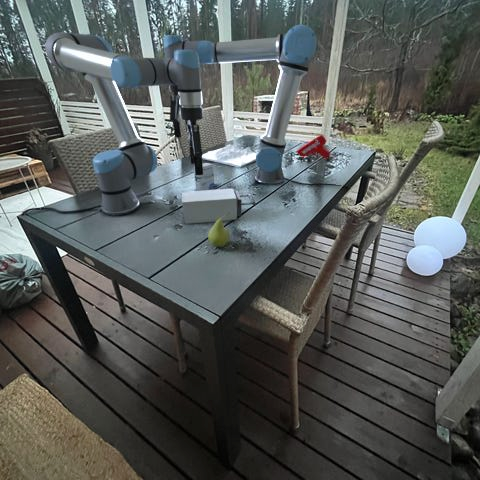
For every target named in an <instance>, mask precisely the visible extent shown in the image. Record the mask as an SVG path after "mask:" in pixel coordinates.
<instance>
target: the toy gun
mask: <svg viewBox="0 0 480 480" xmlns="http://www.w3.org/2000/svg"><path fill="white" fill-rule="evenodd" d="M326 143H327V139H326V137H325V136H324V135H323V133H321V134H319V135H318V136H316V137H314V138H313V139H311V140H310V141H308V142H307V143H306V144H304V145H302V146H301V147H299V148H298V149H297V150H296V153H297V154H298V156H299V157H300V156H305V157H307V156H308V155H310V154H311V155H312V156H316V155H318V154H319V155H320V156H321V157H323V160H324V161H325V160H326V159H327V157H328V159H329V158H330V156H331V151H330V150H328V149H327V148H326V147H324V146H325V145H326ZM305 157H300V159H304V158H305ZM324 158H326V159H324Z"/></svg>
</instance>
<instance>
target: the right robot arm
mask: <svg viewBox="0 0 480 480" xmlns="http://www.w3.org/2000/svg"><path fill="white" fill-rule="evenodd" d="M316 49H317V36H316V33H315V31H314V30H313V28H311V26H309V25H306V24H296V25H294V26H292V27H291V28H289V30H287V32H286V33H279V34H278V35H277V36H276V37H268V38H267V37H266V38H255V39H241V40H229V41H219V42H215V41H213V42H212V41H210V40H203V39H202V40H191V41H190V40H189V41H185V40H183V36H182V35H180V34H166V35H164V36H163V51H164V56H165V57H164V58H174V51H175V50H195V51H197V52H198V55H199V63H200V65H215V64H216V65H217V64H229V63H243V62H245V63H246V62H258V61H274V60H276V62H277V63H278V69H279V70H280V73H279V77H278V82H277V86H276V90H275V94H274V98H273V102H272V106H271V110H270V114H269V118H268V122H267V126H266V129H265V133H264V134H262V135H260V137H259V143H258V149H257V152H256V153H257V154H256V161H255V163H256V166H257V170H256V173H255V177H254V181H255V183H258V184H259V185H262V186H263V185H264V186H279V185H281V184H283V183H284V181H288V182H291V183H294V184H298V185H302V186H332V187H333V186H334V187H342V186H341V185H336V184H337V183H326V182H325V183H324V182H323V183H322V182H318V183H316V182H315V183H304V182H299V181H295V180H292V179H290V178H286V177H285V175H284V172H283V171H284V170H283V167H282V165H283V157H284V155H285V154H284V153H285V150H286V147H287V141H286V139H285V137H286V134H287V130H288V127H289V124H290V121H291V118H292V117H291V116H292V113H293V110H294V107H295V103H296V99H297V96H298V93H299V89H300V85H301V82H302V78H303V76H305V75H307V74H308V72H309V68H310V65H311V62H312V58H313V56H314V54H315V52H316ZM168 88H169V91H170V92H171V93H173V94H171V95H169V96H170V97H169V98H170V99H169V100H170V109H169V121H170V122H172V125H173V132H174V133H173V134H174V138H179V139H181V138H182V132H181V124H180V121H179V119H180V114H181V113H180V108H181V107H182V106H181V105H180V103H179V99H178V98H177V95H179V94H178V87H177V85H168ZM184 122H185V123H184V124H185V132H188V130H187V120H184ZM343 185H344V186H343V187H344V188H345V189H347V190H349V187H348V186H347V185H345V184H343Z"/></svg>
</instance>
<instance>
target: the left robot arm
mask: <svg viewBox="0 0 480 480" xmlns="http://www.w3.org/2000/svg"><path fill="white" fill-rule="evenodd" d="M45 52H46V56H47V58H48V59H49V61H50V62H51V63H52V64H53V65H54V66H55V67H56V68H58V69H59V70H62V71H66V72H69V73H76V72H80V73H81V74H82V76H83V78H84V80H86V81H87V82H89V83H90V84H91V85H92V88H93V90H94V92H95V94H96V96H97V98H98V101H99V103H100V106H101V107H102V110H103V113H104V114H105V116H106V119H107V121H108V123H109V125H110V127H111V129H112V131H113V134H114V136H115V138H116V141H117V142H118V147H117V149H110V150H105V151H102V152H99V153H97V154H96V155H95V156H94V157H93V159H92V166H93V171H94V173H95V176H96V179H97V183H98V185H99V189H100V192H101V201H100V202H101V204H98V205H94V206H90V207H86V208H81V209H75V210H59V209H56V208H54V207H50V206H49V207H47V206H46V207H31V208H27V209H25V210H24V211H23V212H21V214H20V216H24V215H26V214H27V213H28V212H33V211H45V210H49V211H54V212H56V213H59V214H76V213H81V212H87V211H92V210H94V209H98V208H100V209H101V211H102V213H103V215H106V216H108V217H109V216H110V217H119V216H120V217H121V216H125V215H128V214H131V213H134V212H136V211H138V209H139V208H140V207H141V205H140V200H139V199H138V197H137V196H136V194H135V192H134V190H133V189H132V185H131V181H133V180H136V179H139V178H141V177H143V176H147V175H149V174H152V173H154V171H156V169H157V166H158V155H157V153H156V151H155V149H154V148H153V147H152V146H150V145H148V144H146V141H145V140H144V139H142V138H140V137H139V135H138V134H139V133H138V132H137V129H136V127H135V125H134V123H133V120H132V118H131V116H130V113H129V111H128V109H127V106H126V104H125V101H124V100H123V98H122V95H121V92H120V90H119V88H118V87H120V88H123V89H135V88H142V87H155V86H157V87H159V86H169V85H177V87H178V94H179V95H177V98H178V99H179V103H180V105H181V106H182V107H181V108H180V113H179V114H180V118H181V120H182V121H185V120H187V130H188V131H187V142H188V146H189V157H190V164H191V165H194V166H195V175H203V165H202V164H203V159H202V156H203V154H204V153H203V147H202V140H201V133H200V132H201V131H200V130H201V129H200V128H201V127H200V125H199V124H198V121H199V120H200V121H201V120H203V119H204V108H203V107H202V105H203V92H202V83H201V64H200V63H199V55H198V52H197V51H195V50H175V51H174V58H165V57H133V56H130V55H129V56H128V55H124V54H121V53H120V54H119V53H115V52H114V50H113V48H112V46H111V45H110V44H109V42H108V41H107V40H106V38H104V37H102V36H99V35H95V34H92V33H86V34H85V33H73V32H63V31H61V32H55V33H52V34H51V35H49V36H48V37H47V39H46V42H45ZM194 166H193V167H194ZM195 175H194V176H195ZM40 208H41V209H40Z"/></svg>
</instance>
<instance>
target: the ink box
mask: <svg viewBox="0 0 480 480" xmlns="http://www.w3.org/2000/svg"><path fill="white" fill-rule="evenodd" d="M202 165H203V175H195V166H193V173H194V183H195V184H194V185H195V190H196V191H202V190H212V189H214V188H215V174H214V172H215V171H214V164H212V163H209V162H205V163H202Z"/></svg>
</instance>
